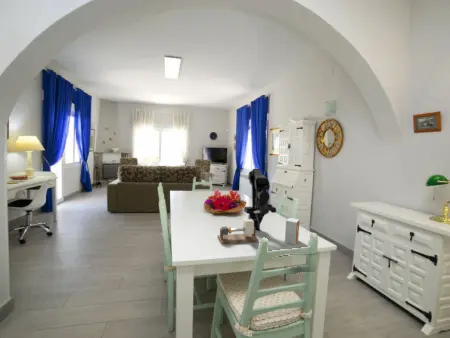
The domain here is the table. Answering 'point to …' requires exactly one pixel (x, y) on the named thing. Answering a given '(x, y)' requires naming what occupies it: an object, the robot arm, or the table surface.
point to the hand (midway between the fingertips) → (259, 223)
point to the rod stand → (236, 236)
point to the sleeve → (248, 226)
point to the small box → (292, 231)
